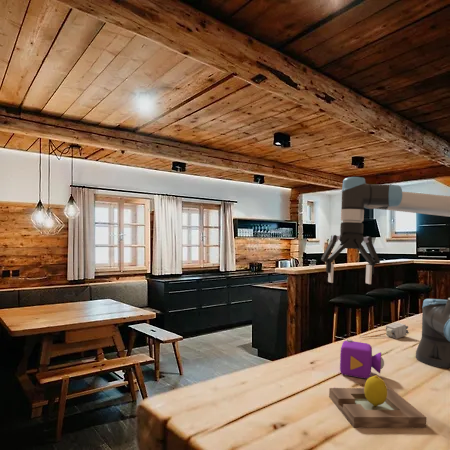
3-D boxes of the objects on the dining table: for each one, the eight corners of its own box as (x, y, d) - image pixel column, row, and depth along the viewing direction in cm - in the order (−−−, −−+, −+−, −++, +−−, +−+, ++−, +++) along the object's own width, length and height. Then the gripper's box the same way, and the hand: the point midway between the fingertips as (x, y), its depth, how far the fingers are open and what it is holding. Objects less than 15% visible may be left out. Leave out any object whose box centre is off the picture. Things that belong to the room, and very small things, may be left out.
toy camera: (386, 383, 115) (387, 350, 115) (340, 377, 118) (342, 346, 118) (379, 370, 126) (380, 341, 126) (337, 365, 128) (338, 336, 129)
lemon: (376, 413, 93) (377, 381, 93) (359, 403, 97) (360, 373, 98) (391, 409, 95) (392, 378, 95) (373, 400, 100) (375, 370, 100)
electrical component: (368, 349, 160) (367, 337, 159) (358, 345, 165) (357, 334, 165) (409, 334, 168) (408, 324, 168) (398, 331, 174) (397, 320, 174)
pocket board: (390, 397, 105) (391, 388, 105) (426, 427, 89) (426, 417, 89) (329, 396, 103) (329, 387, 103) (353, 427, 87) (354, 417, 88)
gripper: (380, 223, 134) (378, 282, 134) (313, 220, 132) (311, 280, 132) (392, 223, 126) (389, 285, 126) (320, 220, 124) (318, 283, 124)
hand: (349, 283), depth 129 cm, fingers open, 13 cm apart
